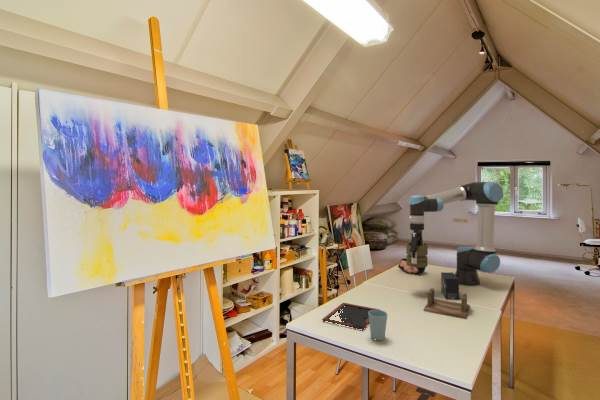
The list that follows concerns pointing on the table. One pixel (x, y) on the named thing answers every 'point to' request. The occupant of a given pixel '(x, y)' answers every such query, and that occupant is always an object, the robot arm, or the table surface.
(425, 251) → the piston
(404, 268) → the head
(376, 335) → the cup
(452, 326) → the table surface
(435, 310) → the roll stand
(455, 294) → the small box
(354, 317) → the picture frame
